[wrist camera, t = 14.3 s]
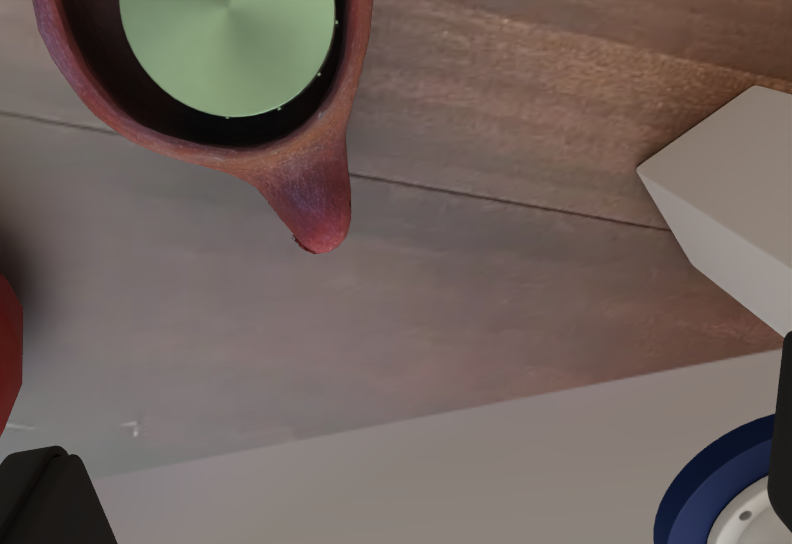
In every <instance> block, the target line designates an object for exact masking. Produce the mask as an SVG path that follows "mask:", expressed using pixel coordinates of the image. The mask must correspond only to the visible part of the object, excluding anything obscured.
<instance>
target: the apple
mask: <svg viewBox="0 0 792 544" xmlns="http://www.w3.org/2000/svg"><path fill="white" fill-rule="evenodd" d="M22 355H23V307H22V306H21V304H20V302H19V300H18V298H17V297H16V295H15V293H14V291H13V290H12V288H11V286H10V284H9V282H8V281H7V279H6V278H5V277H4V276H3V275H2V274H1V273H0V436H1V434H2V432H3V430H4V428H5V426H6V423H7V421H8V418H9V415H10V413H11V410H12V408H13V405H14V403H15V400H16V398H17V395H18V393H19V390H20V388H21V385H22Z"/></svg>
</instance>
